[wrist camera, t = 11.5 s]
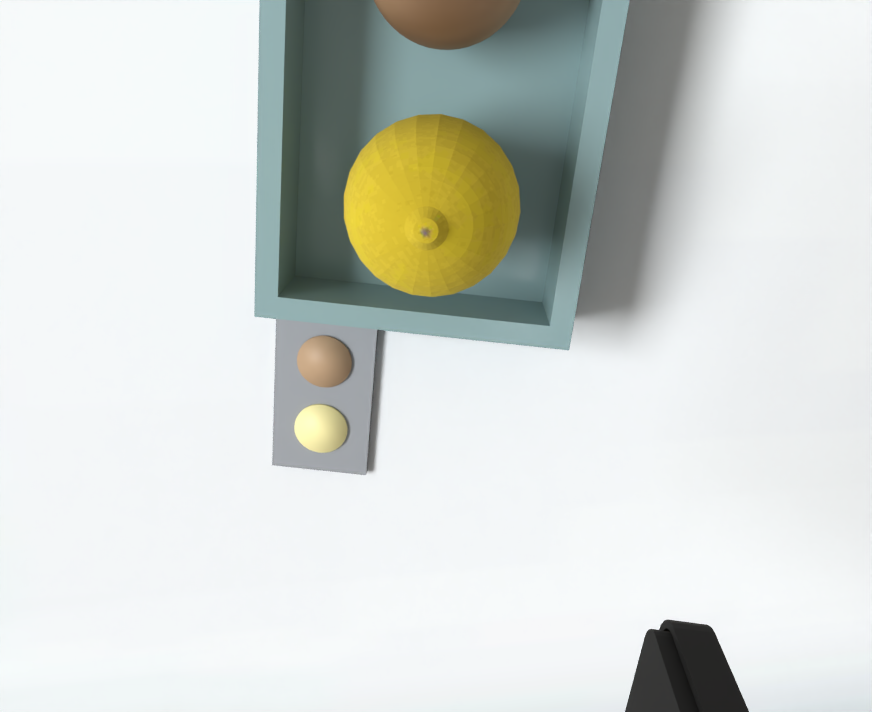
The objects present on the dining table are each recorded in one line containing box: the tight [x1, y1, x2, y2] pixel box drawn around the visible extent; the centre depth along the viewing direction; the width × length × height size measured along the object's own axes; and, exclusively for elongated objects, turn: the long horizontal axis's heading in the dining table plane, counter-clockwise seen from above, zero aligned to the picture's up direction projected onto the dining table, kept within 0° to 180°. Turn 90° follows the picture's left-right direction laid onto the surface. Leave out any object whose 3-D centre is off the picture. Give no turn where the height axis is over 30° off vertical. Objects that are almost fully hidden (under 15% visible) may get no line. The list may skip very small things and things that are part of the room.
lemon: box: [344, 114, 520, 297], centre depth 24 cm, size 6×6×8 cm
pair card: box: [272, 319, 378, 475], centre depth 32 cm, size 4×7×1 cm, turn 174°
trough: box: [255, 0, 630, 350], centre depth 26 cm, size 11×16×4 cm
